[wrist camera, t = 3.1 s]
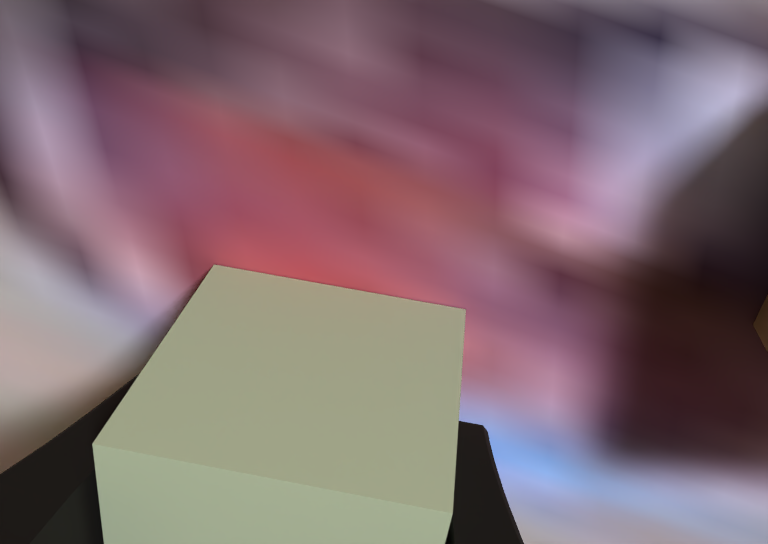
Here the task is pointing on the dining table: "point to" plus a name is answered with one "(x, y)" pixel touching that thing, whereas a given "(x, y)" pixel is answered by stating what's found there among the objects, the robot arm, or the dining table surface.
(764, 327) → the base slab
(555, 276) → the dining table surface
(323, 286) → the green cube
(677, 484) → the dining table surface
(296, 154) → the dining table surface
